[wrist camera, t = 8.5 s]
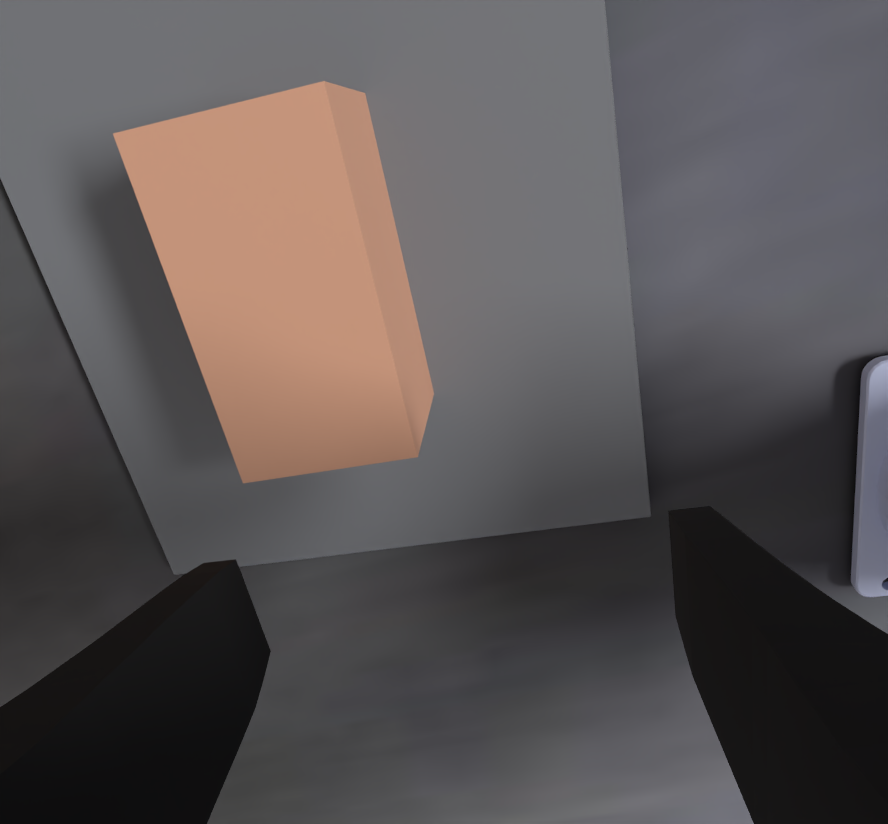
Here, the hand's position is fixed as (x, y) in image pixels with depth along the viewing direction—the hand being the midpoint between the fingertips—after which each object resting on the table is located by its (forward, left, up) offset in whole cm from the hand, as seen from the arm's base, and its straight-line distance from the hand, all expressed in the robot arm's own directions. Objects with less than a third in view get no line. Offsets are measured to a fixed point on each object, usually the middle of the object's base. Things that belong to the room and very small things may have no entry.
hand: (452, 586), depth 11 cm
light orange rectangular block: (+3, -4, -9) cm, 10 cm away
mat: (+3, -4, -9) cm, 11 cm away
